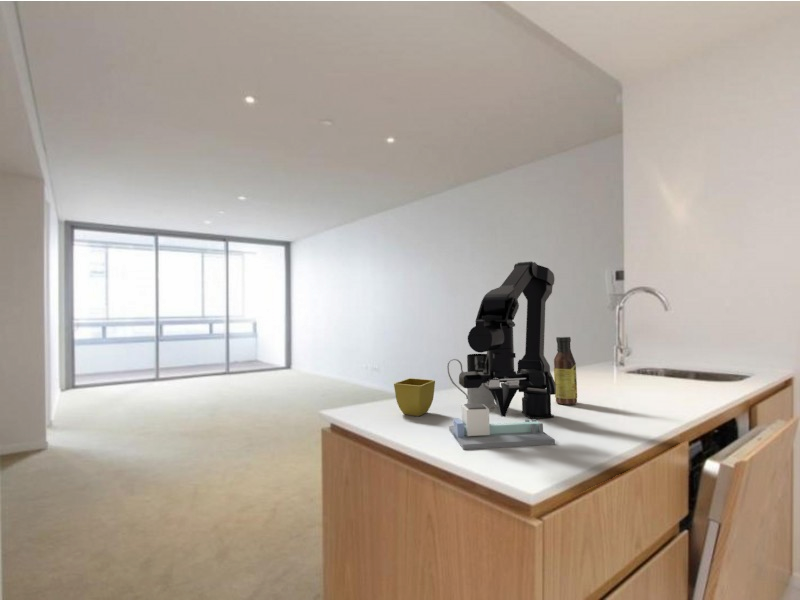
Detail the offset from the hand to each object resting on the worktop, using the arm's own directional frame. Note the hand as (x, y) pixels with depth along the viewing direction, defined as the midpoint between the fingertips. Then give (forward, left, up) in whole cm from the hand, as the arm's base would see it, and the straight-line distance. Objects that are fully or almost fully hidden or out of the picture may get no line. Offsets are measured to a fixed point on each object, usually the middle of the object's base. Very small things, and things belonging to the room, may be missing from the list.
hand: (502, 416), depth 98 cm
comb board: (+1, 0, -5) cm, 5 cm away
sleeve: (+6, 0, -3) cm, 7 cm away
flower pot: (+17, -24, -5) cm, 30 cm away
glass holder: (-1, -31, -5) cm, 31 cm away
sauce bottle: (-29, -28, -5) cm, 40 cm away
